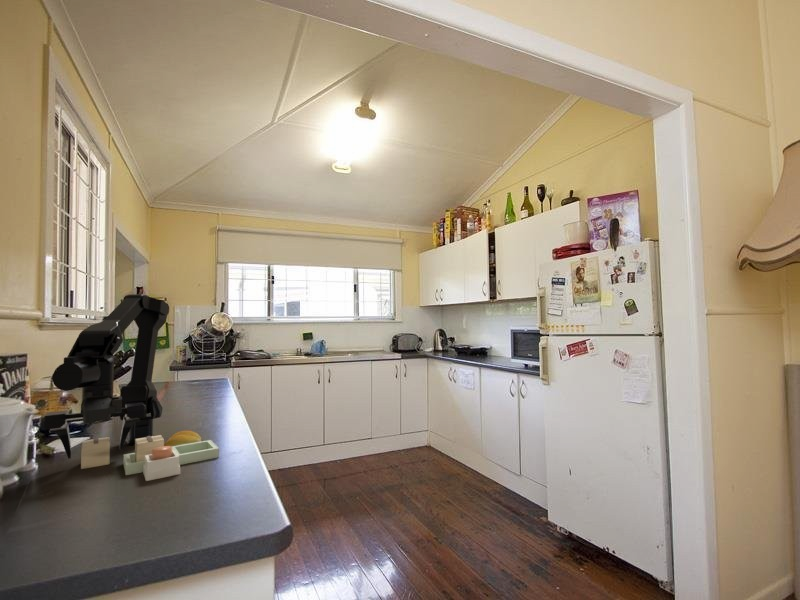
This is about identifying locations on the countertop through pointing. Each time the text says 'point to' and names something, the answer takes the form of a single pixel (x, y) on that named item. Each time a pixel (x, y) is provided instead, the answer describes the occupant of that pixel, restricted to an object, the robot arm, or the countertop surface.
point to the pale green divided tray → (185, 452)
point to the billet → (95, 452)
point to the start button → (161, 452)
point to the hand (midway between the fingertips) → (95, 453)
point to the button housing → (161, 467)
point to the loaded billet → (147, 446)
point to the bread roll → (183, 438)
